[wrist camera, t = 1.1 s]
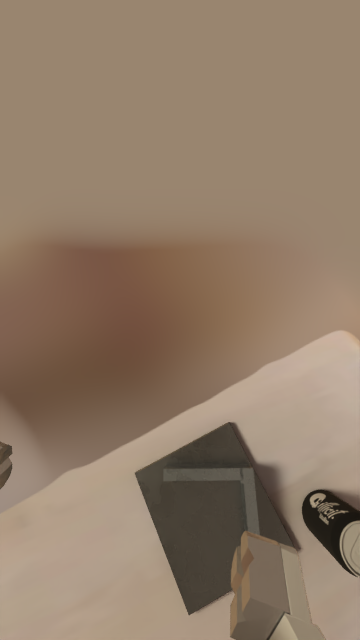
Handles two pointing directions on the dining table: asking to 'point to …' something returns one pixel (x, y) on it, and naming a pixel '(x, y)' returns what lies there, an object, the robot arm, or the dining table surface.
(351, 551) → the beverage can
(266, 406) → the dining table surface
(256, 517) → the v block
